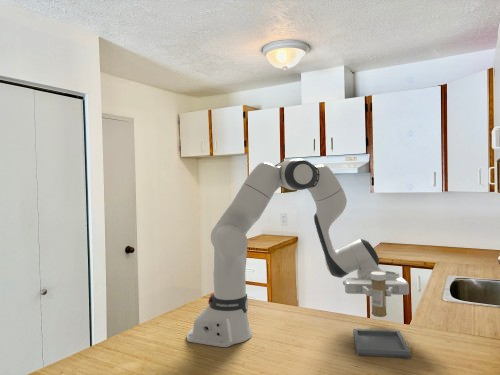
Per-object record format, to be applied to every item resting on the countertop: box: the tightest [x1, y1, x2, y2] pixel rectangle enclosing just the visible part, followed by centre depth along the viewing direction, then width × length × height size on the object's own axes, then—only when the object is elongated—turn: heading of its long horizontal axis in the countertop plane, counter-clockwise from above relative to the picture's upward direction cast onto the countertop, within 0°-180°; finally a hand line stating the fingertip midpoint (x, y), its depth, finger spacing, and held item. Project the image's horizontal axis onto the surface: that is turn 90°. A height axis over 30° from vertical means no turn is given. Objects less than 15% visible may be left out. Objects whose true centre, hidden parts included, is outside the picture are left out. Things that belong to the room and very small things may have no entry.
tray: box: [352, 328, 412, 359], centre depth 117 cm, size 15×15×2 cm
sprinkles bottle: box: [371, 272, 388, 318], centre depth 117 cm, size 5×5×14 cm
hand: (379, 293), depth 116 cm, fingers closed on sprinkles bottle, 4 cm apart
